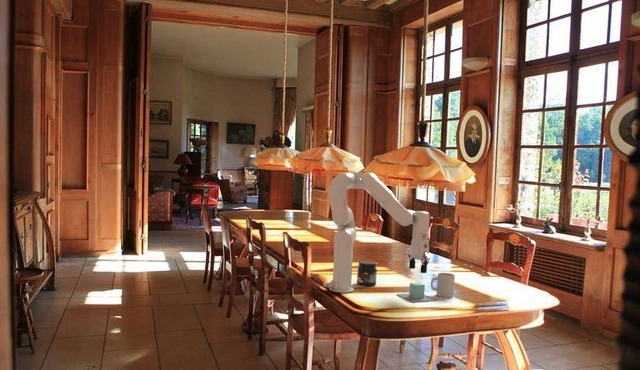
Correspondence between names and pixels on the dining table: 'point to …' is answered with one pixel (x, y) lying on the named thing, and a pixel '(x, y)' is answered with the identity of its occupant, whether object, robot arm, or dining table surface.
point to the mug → (444, 285)
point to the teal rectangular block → (416, 290)
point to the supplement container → (366, 273)
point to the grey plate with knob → (413, 300)
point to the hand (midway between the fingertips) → (417, 270)
